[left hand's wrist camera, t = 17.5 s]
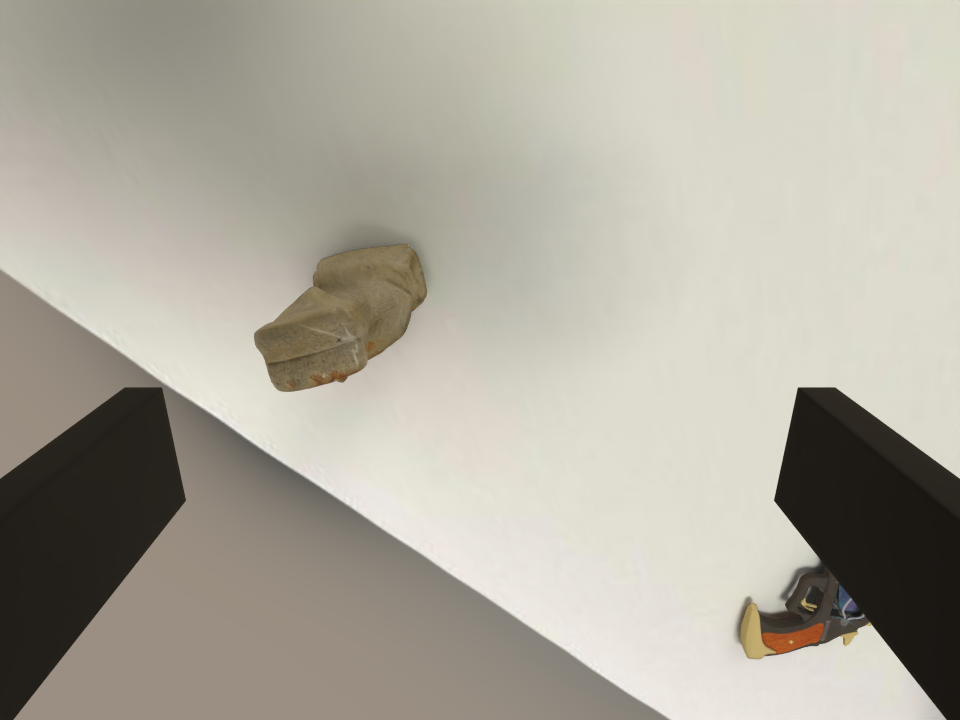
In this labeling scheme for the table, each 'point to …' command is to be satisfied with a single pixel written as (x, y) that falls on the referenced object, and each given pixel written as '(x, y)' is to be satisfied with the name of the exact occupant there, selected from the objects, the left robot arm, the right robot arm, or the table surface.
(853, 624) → the toy gun
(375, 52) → the table surface
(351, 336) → the sculpture
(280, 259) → the table surface
